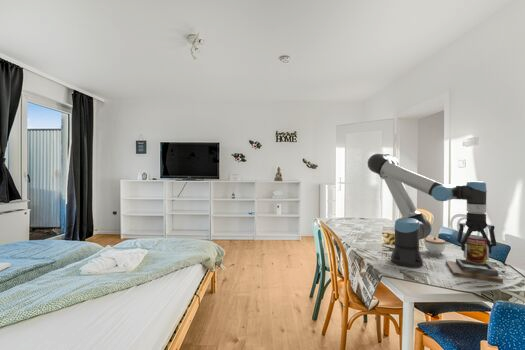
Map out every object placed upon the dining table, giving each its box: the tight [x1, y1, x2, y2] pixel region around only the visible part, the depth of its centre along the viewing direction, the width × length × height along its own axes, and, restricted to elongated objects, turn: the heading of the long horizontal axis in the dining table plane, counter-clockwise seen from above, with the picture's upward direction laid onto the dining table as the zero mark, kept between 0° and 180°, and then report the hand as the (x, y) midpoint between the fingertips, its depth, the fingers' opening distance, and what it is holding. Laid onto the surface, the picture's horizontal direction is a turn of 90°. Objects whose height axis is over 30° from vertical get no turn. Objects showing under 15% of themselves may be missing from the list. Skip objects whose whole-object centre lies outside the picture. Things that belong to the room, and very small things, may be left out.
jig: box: [445, 258, 504, 283], centre depth 128 cm, size 18×18×4 cm
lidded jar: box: [423, 236, 446, 255], centre depth 159 cm, size 11×11×9 cm
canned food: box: [465, 234, 487, 264], centre depth 129 cm, size 8×8×12 cm
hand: (475, 258), depth 129 cm, fingers closed on canned food, 8 cm apart
